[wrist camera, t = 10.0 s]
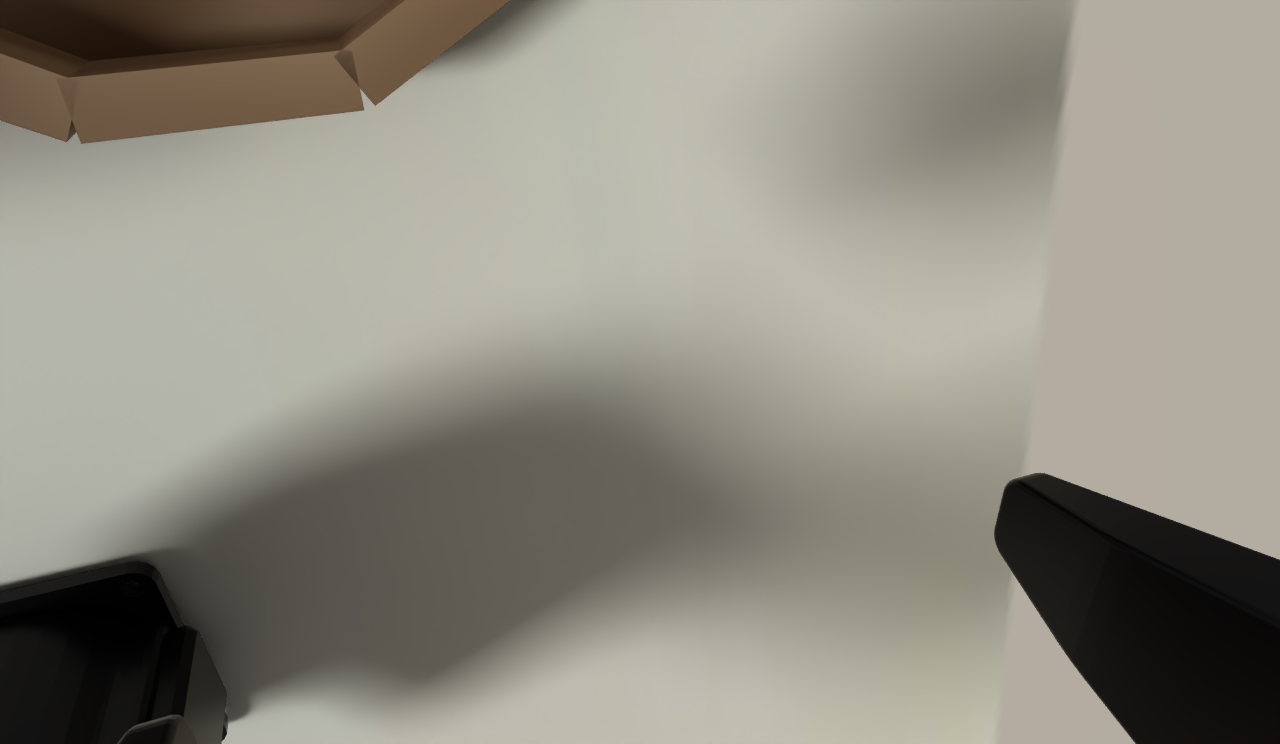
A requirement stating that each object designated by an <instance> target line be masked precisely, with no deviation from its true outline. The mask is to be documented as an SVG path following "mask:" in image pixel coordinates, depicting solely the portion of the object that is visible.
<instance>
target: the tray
mask: <svg viewBox="0 0 1280 744" xmlns="http://www.w3.org/2000/svg"><path fill="white" fill-rule="evenodd" d="M509 1H510V0H0V120H1V121H4V122H7V123H10V124H13V125H16V126H19V127H22V128H25V129H28V130H31V131H34V132H38V133H41V134H44V135H47V136H50V137H53V138H56V139H59V140H62V141H65V142H67V141H68V140H69V139H70V138H71V137H72V136H73V135H74V134H75V133H76V132H77V134H78V136H79V139H80V141H81V144H83V143H91V142H100V141H108V140H117V139H125V138H134V137H142V136H151V135H159V134H168V133H176V132H185V131H193V130H202V129H210V128H218V127H227V126H235V125H244V124H252V123H261V122H269V121H278V120H286V119H295V118H303V117H312V116H320V115H329V114H337V113H346V112H354V111H363V110H364V107H363V102H362V97H361V93H360V89H361V90H362V91H363V92H364V93H365V94H366V96H367V97H368V98H369V99H370V100H371V102H372V103H373V104H374V105H375V106H376V105H377V104H378V103H379V102H381V101H382V100H383V99H385V98H386V97H387V96H388V95H390V94H391V93H392V92H394V91H395V90H396V89H397V88H399V87H400V86H401V85H402V84H404V83H405V82H406V81H408V80H409V79H410V78H411V77H413V76H414V75H415V74H417V73H418V72H419V71H420V70H422V69H423V68H424V67H425V66H427V65H428V64H429V63H431V62H432V61H433V60H434V59H436V58H437V57H438V56H440V55H441V54H442V53H443V52H445V51H446V50H447V49H448V48H450V47H451V46H452V45H454V44H455V43H456V42H457V41H459V40H460V39H461V38H463V37H464V36H465V35H466V34H468V33H469V32H470V31H471V30H473V29H474V28H475V27H477V26H478V25H479V24H480V23H482V22H483V21H484V20H486V19H487V18H488V17H489V16H491V15H492V14H493V13H494V12H496V11H497V10H498V9H500V8H501V7H502V6H503V5H505V4H506V3H507V2H509ZM359 87H360V88H359Z"/></svg>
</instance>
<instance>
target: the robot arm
mask: <svg viewBox="0 0 1280 744" xmlns="http://www.w3.org/2000/svg"><path fill="white" fill-rule="evenodd" d="M994 538H995V542H996V545H997V548H998V550H999V552H1000V554H1001V556H1002V557H1003V559H1004V560H1005V562H1006V563H1007V565H1008V566H1009V568H1010V569H1011V571H1012V573H1013V574H1014V576H1015V577H1016V579H1017V580H1018V582H1019V583H1020V585H1021V586H1022V588H1023V589H1024V591H1025V592H1026V594H1027V595H1028V597H1029V599H1030V600H1031V602H1032V603H1033V605H1034V606H1035V608H1036V609H1037V611H1038V612H1039V614H1040V616H1041V617H1042V618H1043V620H1044V621H1045V623H1046V625H1047V626H1048V627H1049V629H1050V631H1051V632H1052V634H1053V635H1054V637H1055V639H1056V640H1057V642H1058V643H1059V645H1060V646H1061V648H1062V649H1063V650H1064V652H1065V653H1066V655H1067V656H1068V658H1069V659H1070V660H1071V662H1072V663H1073V665H1074V666H1075V667H1076V668H1077V670H1078V671H1079V673H1080V674H1081V675H1082V676H1083V678H1084V679H1085V680H1086V681H1087V683H1088V684H1089V685H1090V687H1091V688H1092V689H1093V690H1094V692H1095V693H1096V694H1097V696H1098V697H1099V698H1100V699H1101V701H1102V702H1103V703H1104V704H1105V706H1106V707H1107V708H1108V709H1109V711H1110V712H1111V713H1112V714H1113V716H1114V717H1115V718H1116V720H1117V721H1118V722H1119V723H1120V724H1121V726H1122V727H1123V728H1124V730H1125V731H1126V732H1127V733H1128V735H1129V736H1130V737H1131V738H1132V740H1133V741H1134V742H1135V743H1136V744H1280V560H1279V559H1276V558H1273V557H1271V556H1268V555H1265V554H1262V553H1260V552H1257V551H1254V550H1252V549H1249V548H1246V547H1243V546H1240V545H1238V544H1235V543H1233V542H1230V541H1227V540H1224V539H1222V538H1219V537H1216V536H1214V535H1211V534H1208V533H1205V532H1203V531H1200V530H1197V529H1195V528H1192V527H1189V526H1186V525H1183V524H1181V523H1178V522H1176V521H1173V520H1170V519H1167V518H1165V517H1162V516H1159V515H1156V514H1154V513H1151V512H1148V511H1146V510H1143V509H1140V508H1138V507H1135V506H1132V505H1129V504H1127V503H1124V502H1121V501H1119V500H1116V499H1113V498H1110V497H1108V496H1105V495H1102V494H1099V493H1097V492H1094V491H1091V490H1089V489H1086V488H1083V487H1080V486H1078V485H1075V484H1072V483H1070V482H1067V481H1064V480H1062V479H1059V478H1056V477H1053V476H1050V475H1048V474H1045V473H1034V474H1030V475H1027V476H1023V477H1020V478H1016V479H1013V480H1011V481H1009V483H1008V484H1007V485H1006V486H1005V489H1004V492H1003V496H1002V500H1001V504H1000V508H999V513H998V517H997V521H996V525H995V530H994ZM129 581H138V582H141V583H143V584H142V585H138V586H133V585H130V584H127V583H126V582H129ZM226 697H227V693H226V689H225V687H224V685H223V683H222V681H221V679H220V677H219V674H218V672H217V670H216V668H215V666H214V664H213V661H212V659H211V657H210V655H209V653H208V651H207V648H206V646H205V644H204V642H203V640H202V638H201V635H200V633H199V631H197V630H196V629H194V628H192V627H191V626H189V625H188V626H184V624H183V622H182V620H181V618H180V616H179V613H178V611H177V609H176V607H175V605H174V603H173V601H172V599H171V597H170V594H169V592H168V590H167V588H166V586H165V584H164V582H163V580H162V578H161V575H160V573H159V572H158V570H157V569H156V568H155V567H154V566H152V565H150V564H148V563H144V562H139V561H137V562H128V563H124V564H119V565H115V566H111V567H107V568H102V569H98V570H94V571H90V572H85V573H81V574H77V575H73V576H68V577H64V578H60V579H56V580H51V581H47V582H43V583H38V584H34V585H30V586H26V587H21V588H17V589H13V590H9V591H4V592H0V744H221V742H222V741H223V740H224V739H225V737H226V735H227V728H228V717H227V715H226V713H225V706H226Z"/></svg>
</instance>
